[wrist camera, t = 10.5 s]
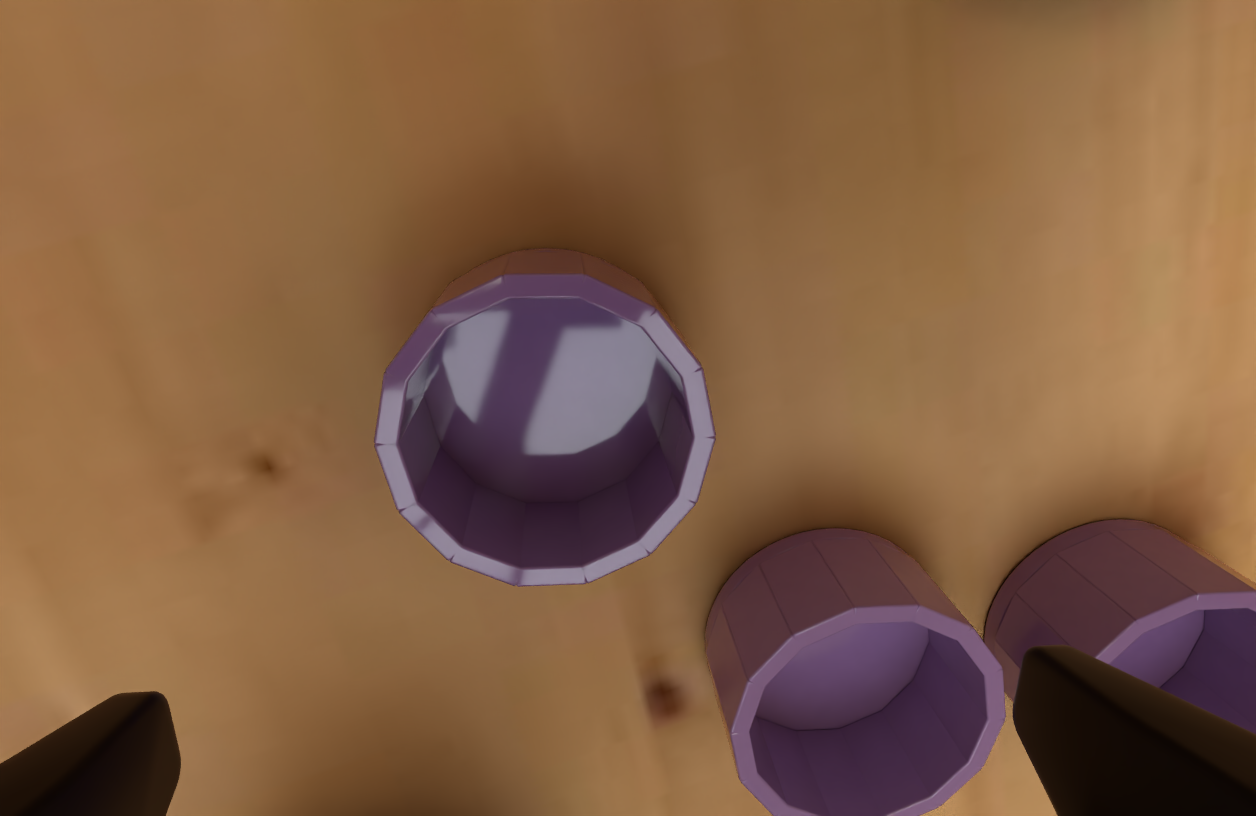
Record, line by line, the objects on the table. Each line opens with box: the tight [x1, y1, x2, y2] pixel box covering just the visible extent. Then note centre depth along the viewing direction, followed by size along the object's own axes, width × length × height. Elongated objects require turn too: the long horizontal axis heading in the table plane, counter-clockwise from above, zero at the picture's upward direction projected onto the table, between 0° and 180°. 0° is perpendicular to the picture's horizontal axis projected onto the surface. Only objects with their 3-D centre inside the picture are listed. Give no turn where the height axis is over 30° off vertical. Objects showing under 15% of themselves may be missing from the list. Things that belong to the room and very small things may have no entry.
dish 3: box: [984, 519, 1256, 734], centre depth 20 cm, size 6×6×4 cm
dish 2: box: [705, 528, 1006, 816], centre depth 19 cm, size 6×6×4 cm
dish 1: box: [374, 248, 716, 587], centre depth 16 cm, size 6×6×4 cm
